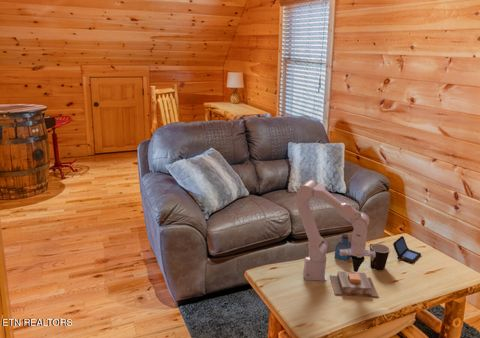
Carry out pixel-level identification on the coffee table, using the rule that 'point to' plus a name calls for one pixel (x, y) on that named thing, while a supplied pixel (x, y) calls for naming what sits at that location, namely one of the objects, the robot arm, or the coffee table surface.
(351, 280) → the button
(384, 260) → the coffee mug
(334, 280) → the button board
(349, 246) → the perfume bottle
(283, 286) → the coffee table surface
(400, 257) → the handheld game console
